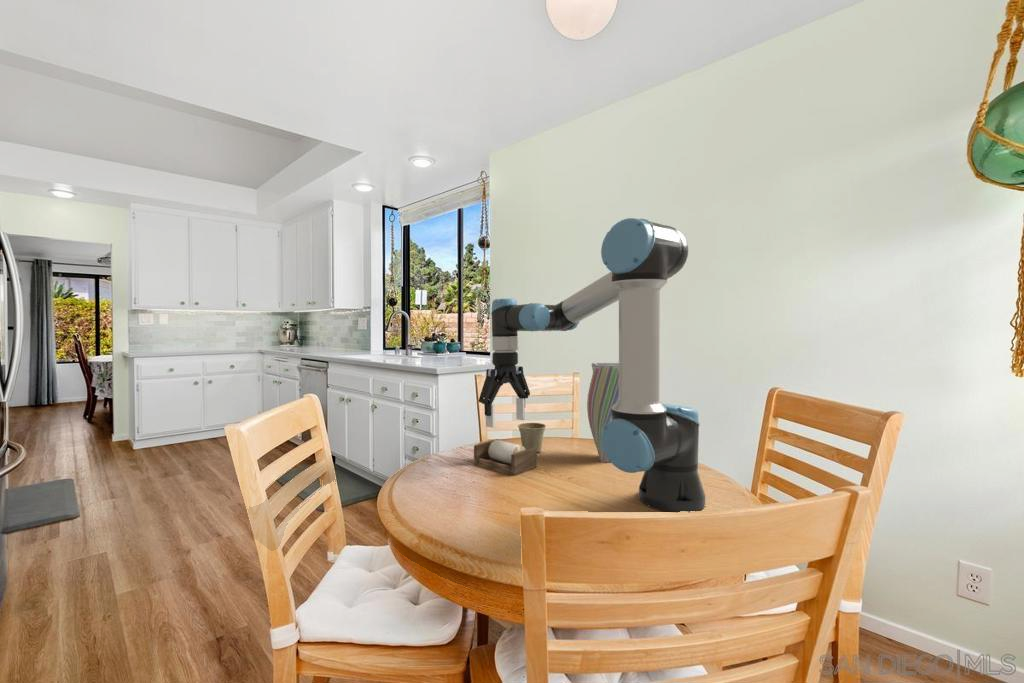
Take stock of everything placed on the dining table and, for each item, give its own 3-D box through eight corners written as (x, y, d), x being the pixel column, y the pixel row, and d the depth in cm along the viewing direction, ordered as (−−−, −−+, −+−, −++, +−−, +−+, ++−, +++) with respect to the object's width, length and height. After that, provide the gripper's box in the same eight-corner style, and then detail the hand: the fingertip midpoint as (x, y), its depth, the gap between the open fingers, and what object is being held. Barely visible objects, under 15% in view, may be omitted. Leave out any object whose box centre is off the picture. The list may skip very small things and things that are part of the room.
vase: (583, 453, 152) (584, 362, 150) (625, 453, 151) (626, 362, 150) (589, 466, 138) (589, 365, 137) (634, 466, 137) (635, 366, 136)
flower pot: (514, 448, 157) (514, 423, 157) (539, 446, 160) (540, 421, 160) (522, 456, 148) (523, 429, 148) (550, 453, 151) (550, 427, 151)
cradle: (536, 467, 136) (536, 448, 136) (514, 476, 129) (514, 455, 129) (496, 457, 147) (496, 439, 147) (474, 464, 139) (474, 445, 139)
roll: (524, 467, 137) (528, 446, 138) (511, 465, 132) (515, 444, 133) (499, 460, 143) (503, 440, 144) (486, 458, 139) (490, 438, 140)
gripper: (522, 349, 148) (522, 415, 149) (465, 353, 129) (466, 428, 130) (540, 350, 144) (541, 418, 144) (484, 353, 125) (485, 432, 125)
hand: (506, 423), depth 137 cm, fingers open, 13 cm apart
